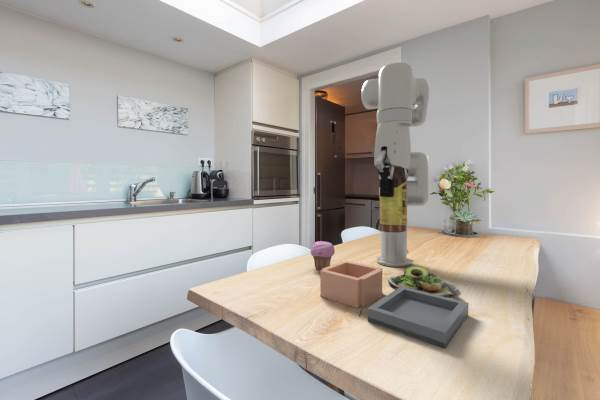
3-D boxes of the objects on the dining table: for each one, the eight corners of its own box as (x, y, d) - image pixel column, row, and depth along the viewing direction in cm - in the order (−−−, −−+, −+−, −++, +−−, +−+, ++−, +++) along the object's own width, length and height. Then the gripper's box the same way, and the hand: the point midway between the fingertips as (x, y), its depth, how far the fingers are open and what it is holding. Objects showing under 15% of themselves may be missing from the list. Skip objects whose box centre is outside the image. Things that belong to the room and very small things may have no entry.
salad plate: (478, 296, 78) (479, 279, 78) (431, 308, 71) (432, 290, 71) (422, 275, 96) (422, 262, 96) (380, 283, 89) (380, 268, 89)
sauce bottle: (408, 234, 65) (409, 145, 64) (380, 233, 66) (380, 146, 65) (404, 229, 71) (405, 149, 70) (378, 228, 73) (379, 150, 72)
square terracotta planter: (344, 282, 89) (344, 260, 88) (384, 293, 80) (385, 268, 79) (318, 295, 79) (318, 270, 78) (360, 309, 70) (360, 281, 70)
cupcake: (311, 264, 109) (311, 238, 108) (334, 265, 108) (334, 239, 107) (309, 271, 100) (309, 243, 99) (334, 272, 99) (334, 244, 98)
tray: (400, 297, 77) (401, 286, 77) (468, 315, 66) (468, 302, 66) (367, 321, 64) (367, 308, 64) (445, 348, 53) (445, 333, 53)
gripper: (395, 127, 76) (395, 194, 77) (361, 116, 64) (360, 197, 65) (424, 123, 71) (423, 195, 72) (392, 110, 59) (391, 198, 60)
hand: (393, 195), depth 68 cm, fingers closed on sauce bottle, 6 cm apart
